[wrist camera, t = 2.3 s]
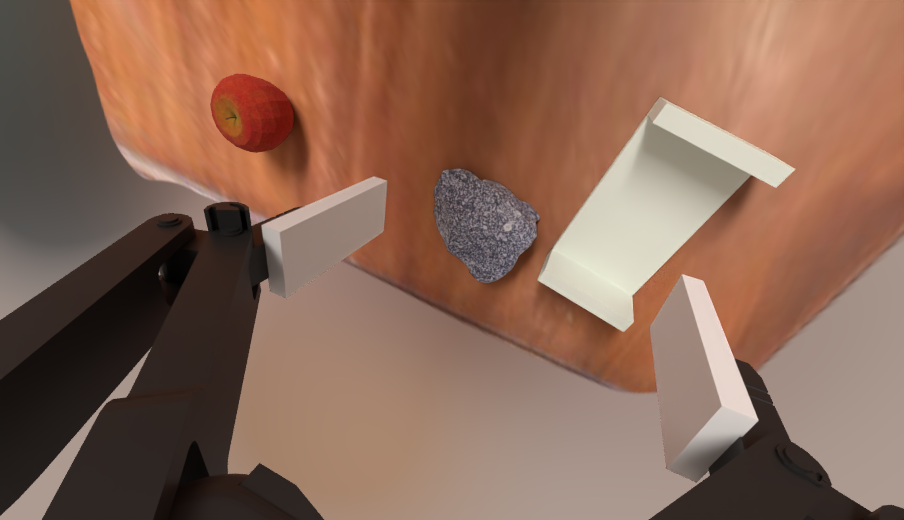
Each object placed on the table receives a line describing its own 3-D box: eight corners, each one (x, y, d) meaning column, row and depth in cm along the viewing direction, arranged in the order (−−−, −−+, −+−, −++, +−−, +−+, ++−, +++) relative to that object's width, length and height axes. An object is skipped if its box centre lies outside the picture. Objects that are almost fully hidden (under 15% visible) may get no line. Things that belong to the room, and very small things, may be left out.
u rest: (547, 254, 38) (537, 280, 34) (659, 96, 28) (667, 102, 24) (623, 299, 37) (623, 332, 33) (767, 152, 27) (795, 169, 23)
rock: (545, 224, 32) (491, 303, 37) (553, 211, 37) (504, 283, 42) (438, 157, 34) (400, 240, 39) (458, 153, 39) (422, 228, 43)
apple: (293, 66, 40) (231, 67, 33) (316, 139, 43) (264, 153, 37) (246, 80, 43) (182, 83, 37) (271, 147, 46) (216, 161, 40)
